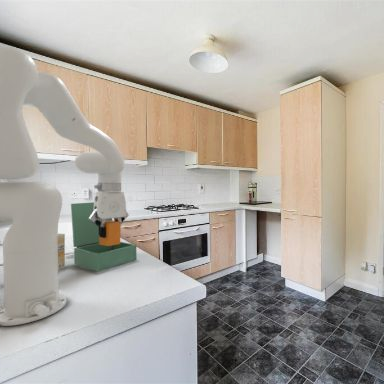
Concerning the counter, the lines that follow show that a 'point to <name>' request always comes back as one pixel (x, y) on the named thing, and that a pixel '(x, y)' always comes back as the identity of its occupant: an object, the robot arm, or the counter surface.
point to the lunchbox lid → (84, 224)
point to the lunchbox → (104, 255)
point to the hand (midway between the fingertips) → (109, 235)
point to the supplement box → (61, 251)
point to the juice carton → (111, 234)
